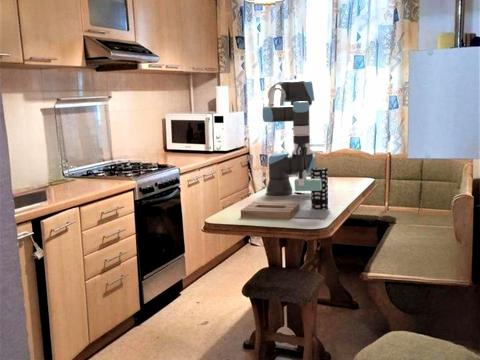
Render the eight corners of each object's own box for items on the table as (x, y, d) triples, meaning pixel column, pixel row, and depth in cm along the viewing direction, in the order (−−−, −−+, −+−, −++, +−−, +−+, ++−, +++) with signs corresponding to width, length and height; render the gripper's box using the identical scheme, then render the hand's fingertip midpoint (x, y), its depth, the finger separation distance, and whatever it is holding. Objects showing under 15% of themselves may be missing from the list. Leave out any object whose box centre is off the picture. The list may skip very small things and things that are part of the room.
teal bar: (297, 189, 246) (296, 179, 245) (321, 189, 242) (321, 178, 241) (295, 191, 242) (294, 180, 242) (320, 190, 238) (319, 180, 238)
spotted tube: (308, 207, 261) (307, 168, 258) (322, 205, 264) (322, 166, 261) (316, 210, 253) (315, 170, 250) (331, 208, 256) (330, 168, 253)
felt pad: (301, 211, 253) (301, 210, 253) (329, 212, 248) (329, 211, 248) (294, 218, 240) (294, 216, 240) (324, 219, 235) (324, 218, 235)
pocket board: (253, 208, 264) (253, 201, 263) (299, 209, 256) (299, 202, 255) (240, 217, 245) (240, 210, 245) (290, 219, 238) (289, 212, 237)
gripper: (297, 133, 248) (298, 181, 252) (289, 136, 232) (290, 187, 236) (313, 133, 246) (313, 181, 250) (305, 136, 230) (306, 187, 234)
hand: (302, 184), depth 243 cm, fingers closed on teal bar, 4 cm apart
